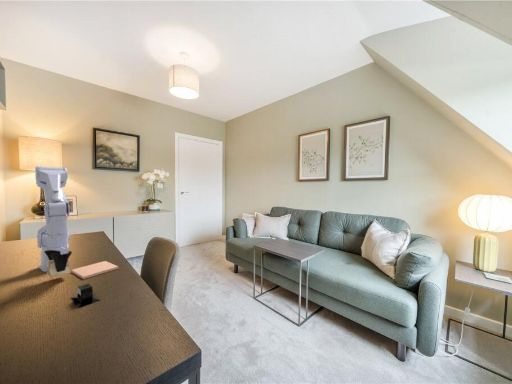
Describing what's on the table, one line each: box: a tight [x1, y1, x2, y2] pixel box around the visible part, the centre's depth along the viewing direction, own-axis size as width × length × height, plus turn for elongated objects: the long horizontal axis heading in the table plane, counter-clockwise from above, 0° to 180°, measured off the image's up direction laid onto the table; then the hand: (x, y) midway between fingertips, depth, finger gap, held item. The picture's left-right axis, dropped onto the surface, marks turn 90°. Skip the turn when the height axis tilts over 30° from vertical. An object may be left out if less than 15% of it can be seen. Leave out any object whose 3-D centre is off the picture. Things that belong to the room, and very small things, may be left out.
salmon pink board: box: [71, 260, 119, 280], centre depth 86 cm, size 12×12×1 cm
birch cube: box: [46, 259, 70, 278], centre depth 78 cm, size 5×5×5 cm
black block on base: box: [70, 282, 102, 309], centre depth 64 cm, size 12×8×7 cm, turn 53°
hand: (58, 269), depth 78 cm, fingers closed on birch cube, 5 cm apart
